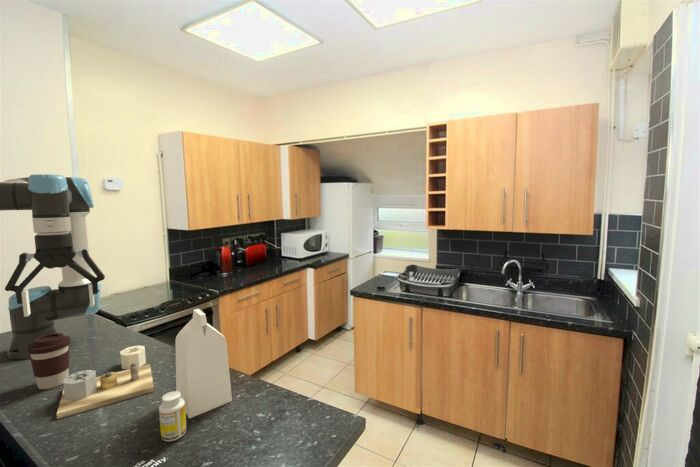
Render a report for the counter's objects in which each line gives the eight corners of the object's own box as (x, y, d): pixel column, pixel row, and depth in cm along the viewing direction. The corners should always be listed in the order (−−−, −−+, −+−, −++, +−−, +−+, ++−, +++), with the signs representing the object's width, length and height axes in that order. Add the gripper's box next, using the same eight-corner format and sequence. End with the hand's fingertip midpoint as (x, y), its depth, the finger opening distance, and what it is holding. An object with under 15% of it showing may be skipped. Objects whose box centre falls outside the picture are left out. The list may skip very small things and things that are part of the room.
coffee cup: (49, 394, 98) (43, 345, 96) (22, 390, 100) (16, 342, 98) (82, 376, 107) (77, 332, 106) (57, 373, 109) (52, 329, 108)
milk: (232, 400, 95) (228, 312, 92) (189, 418, 87) (183, 323, 84) (216, 383, 104) (212, 302, 101) (176, 397, 96) (170, 311, 93)
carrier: (65, 389, 100) (63, 368, 100) (150, 368, 113) (149, 349, 112) (57, 419, 87) (54, 395, 86) (154, 391, 99) (152, 370, 99)
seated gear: (67, 391, 97) (65, 374, 96) (97, 383, 101) (95, 367, 100) (63, 403, 91) (62, 386, 91) (95, 394, 95) (94, 378, 95)
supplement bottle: (180, 423, 86) (178, 386, 84) (190, 433, 82) (188, 394, 81) (157, 435, 81) (154, 396, 80) (166, 446, 78) (163, 405, 77)
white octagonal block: (121, 362, 116) (120, 349, 116) (145, 357, 120) (144, 344, 120) (121, 371, 111) (120, 357, 110) (146, 365, 114) (145, 351, 114)
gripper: (-20, 238, 79) (-9, 324, 81) (110, 231, 93) (116, 305, 95) (-9, 234, 85) (1, 315, 88) (111, 229, 99) (117, 298, 101)
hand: (61, 310), depth 91 cm, fingers open, 13 cm apart
